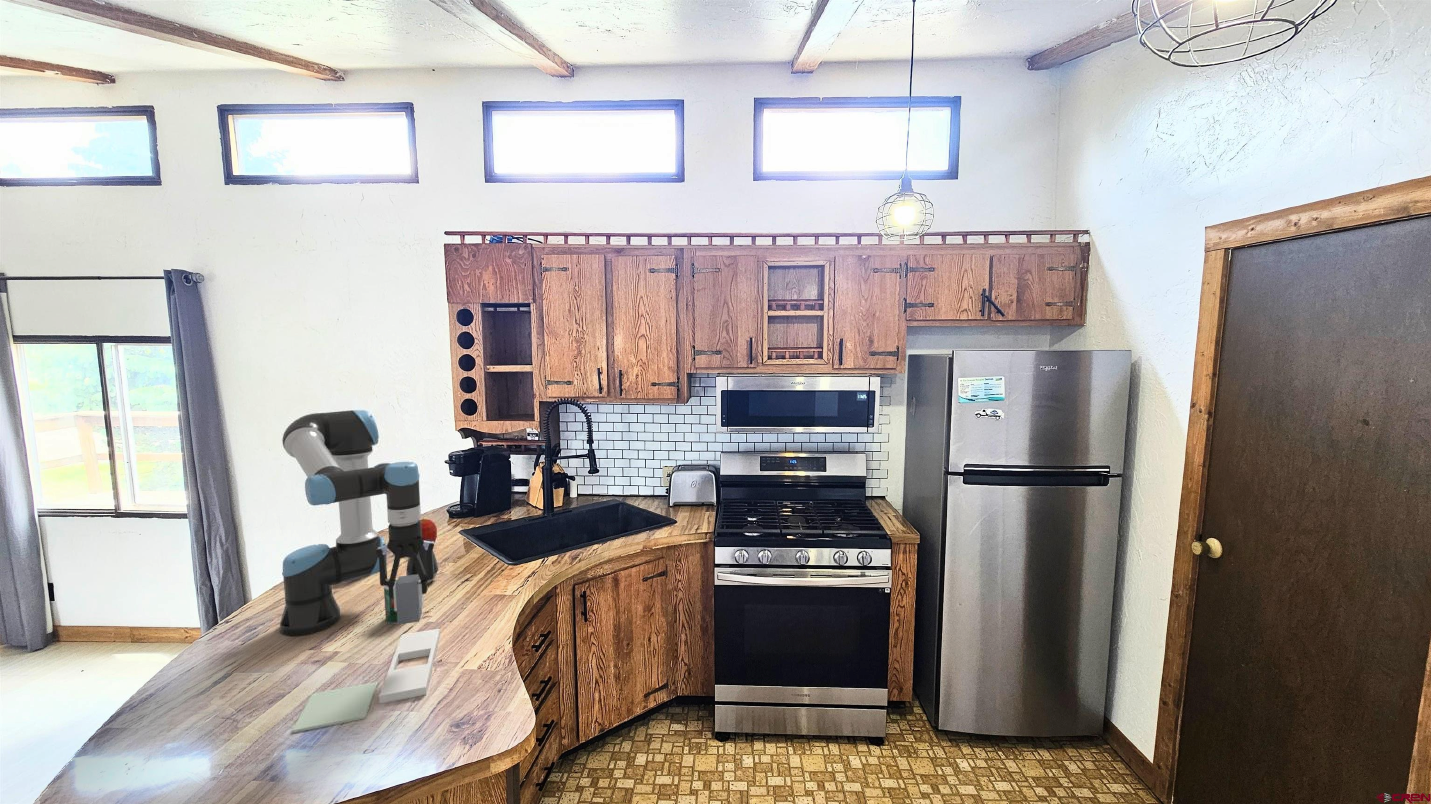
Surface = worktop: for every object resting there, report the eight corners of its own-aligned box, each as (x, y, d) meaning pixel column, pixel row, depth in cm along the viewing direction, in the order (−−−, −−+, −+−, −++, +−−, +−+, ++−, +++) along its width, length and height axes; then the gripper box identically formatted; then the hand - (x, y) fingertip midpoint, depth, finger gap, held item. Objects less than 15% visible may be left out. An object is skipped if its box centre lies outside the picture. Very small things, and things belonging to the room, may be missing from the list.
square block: (397, 624, 145) (395, 584, 144) (401, 615, 150) (398, 576, 148) (419, 621, 147) (417, 581, 145) (421, 612, 151) (419, 574, 150)
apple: (411, 547, 236) (409, 515, 234) (438, 544, 240) (436, 512, 238) (409, 556, 226) (407, 522, 225) (437, 552, 230) (435, 519, 229)
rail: (379, 703, 134) (379, 695, 133) (401, 641, 162) (401, 634, 161) (426, 694, 137) (425, 686, 137) (440, 635, 165) (439, 628, 165)
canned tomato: (401, 625, 171) (399, 590, 170) (379, 622, 172) (377, 588, 171) (420, 612, 179) (418, 579, 177) (398, 610, 180) (396, 577, 179)
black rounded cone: (444, 576, 206) (442, 536, 205) (427, 588, 196) (425, 547, 194) (418, 575, 207) (416, 535, 206) (400, 587, 197) (398, 546, 195)
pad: (292, 733, 123) (291, 730, 123) (312, 695, 136) (312, 693, 136) (365, 718, 128) (364, 716, 128) (378, 683, 141) (378, 681, 141)
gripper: (361, 530, 139) (366, 619, 141) (441, 522, 145) (445, 608, 147) (368, 521, 146) (373, 606, 148) (444, 514, 152) (448, 595, 154)
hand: (409, 606), depth 148 cm, fingers closed on square block, 5 cm apart
